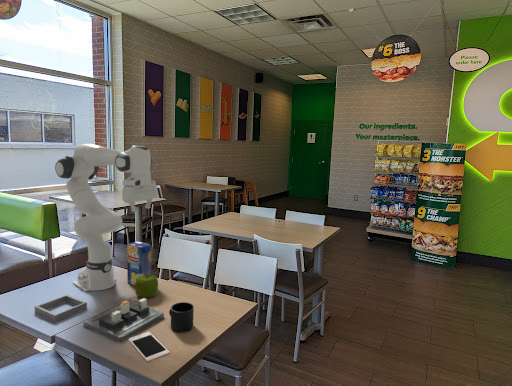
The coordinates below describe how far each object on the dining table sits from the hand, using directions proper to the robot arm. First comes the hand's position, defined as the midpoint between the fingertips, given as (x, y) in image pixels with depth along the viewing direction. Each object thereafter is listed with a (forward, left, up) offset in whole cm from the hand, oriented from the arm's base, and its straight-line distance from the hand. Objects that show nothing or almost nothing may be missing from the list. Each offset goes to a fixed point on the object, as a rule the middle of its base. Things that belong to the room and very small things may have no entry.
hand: (141, 209), depth 165 cm
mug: (+31, -7, -46) cm, 56 cm away
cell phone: (+31, -25, -46) cm, 61 cm away
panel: (+9, -17, -46) cm, 50 cm away
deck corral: (-22, -26, -46) cm, 57 cm away
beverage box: (-18, +16, -46) cm, 52 cm away
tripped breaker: (+9, -17, -41) cm, 46 cm away
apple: (-3, +7, -46) cm, 47 cm away
